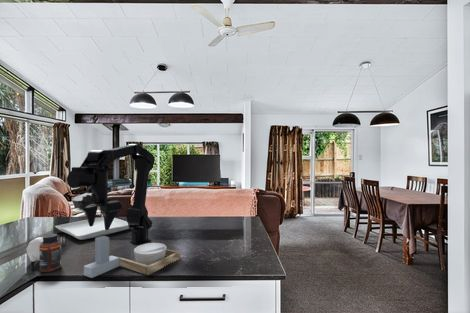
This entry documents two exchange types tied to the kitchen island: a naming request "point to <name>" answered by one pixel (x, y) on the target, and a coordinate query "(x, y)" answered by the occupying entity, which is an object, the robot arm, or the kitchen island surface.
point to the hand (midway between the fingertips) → (98, 228)
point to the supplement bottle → (50, 253)
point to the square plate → (92, 228)
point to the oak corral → (146, 269)
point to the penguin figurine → (34, 249)
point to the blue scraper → (101, 259)
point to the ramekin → (150, 253)
